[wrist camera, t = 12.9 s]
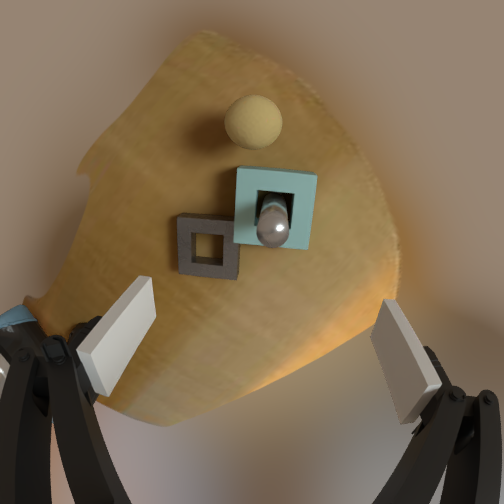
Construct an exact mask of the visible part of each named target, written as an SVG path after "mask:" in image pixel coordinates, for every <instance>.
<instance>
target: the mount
mask: <svg viewBox="0 0 504 504" xmlns="http://www.w3.org/2000/svg"><path fill="white" fill-rule="evenodd" d="M234 221H235V217H234V216H221V215H208V214H194V213H182V214H180V215H179V216H178V217H177V240H178V265H179V274H185V275H194V276H202V277H211V278H220V279H229V280H237V277H238V274H239V259H240V243H233V242H234ZM196 233H204V234H216V235H224V247H223V259H219V258H209V257H199V256H196Z"/></svg>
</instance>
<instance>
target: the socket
mask: <svg viewBox="0 0 504 504" xmlns="http://www.w3.org/2000/svg"><path fill="white" fill-rule="evenodd" d="M316 184H317V175H316V174H315V173H314V172H308V171H299V170H290V169H280V168H269V167H256V166H242V165H241V166H240V167H238V168H237V183H236V201H235V221H234V242H233V243H242V244H252V245H263V244H261V243H260V241H259V240H258V238H257V235H256V230H257V225H258V221H259V218H256V215H257V202H258V190H264V191H275V192H285V193H293V194H292V203H291V212H290V221H288V225H289V237H288V239H287V241H286V242H285V243H284V244H283V245H282V246H280V247H284V248H294V249H304V250H308V244H309V237H310V230H311V223H312V216H313V208H314V200H315V192H316ZM263 246H264V245H263Z"/></svg>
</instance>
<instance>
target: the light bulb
mask: <svg viewBox="0 0 504 504" xmlns="http://www.w3.org/2000/svg"><path fill="white" fill-rule="evenodd" d="M224 125H225V130H226V132H227V134H228V136H229V137H230V139H231V140H232V141H233V142H234V143H236V144H237V145H239V146H240V147H243V148H246V149H251V150H256V149H261V148H264V147H266V146H268V145H270V144H271V143H272V142H274V141H275V140H276V138H277V137H278V135H279V134H280V131H281V128H282V117H281V113H280V111H279V109H278V108H277V106H276V105H275V104H274V103H273V102H272V101H270V100H269V99H267V98H265V97H263V96H259V95H247V96H244V97H241V98H239V99H238V100H236V101H235V102H234V103H233V104H232V105H231V106H230V107H229V109H228V110H227V113H226V115H225V119H224Z"/></svg>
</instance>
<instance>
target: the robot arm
mask: <svg viewBox="0 0 504 504" xmlns="http://www.w3.org/2000/svg"><path fill="white" fill-rule="evenodd" d="M155 318H156V311H155V304H154V296H153V288H152V279H151V277H147V276H140V275H139V277H138V278H137V279H136V280H135V281H134V282H133V283H132V284H131V285H130V286H129V288H128V289H127V290H126V291H125V292H124V293H123V294H122V295H121V297H120V298H119V299H118V300H117V301H116V302H115V303H114V305H113V306H112V307H111V308H110V309H109V310H108V312H107V313H106V314H105V315H104V316H103V317H101V316H96V317H95V318H93V319H91V320H90V321H89V322H88V323H80V324H78V325H77V326H76V327H75V328H74V329H73V330H72V331H71V333H70V335H69V339H68V341H67V343H66V340H65V338H64V337H62V336H59V335H52V336H49V337H48V336H47V335H46V334H45V332H44V331H43V329H42V328H41V326H40V325H39V324H38V322H37V319H35V318H34V317H33V315H32V314H31V312H30V311H29V310H28V308H27V307H26V306H24V305H18V306H15V307H13V308H12V309H10V310H8V311H7V312H5V313H3V314H2V315H0V504H52V498H51V482H50V443H51V427H52V423H53V424H54V428H55V434H56V439H57V444H58V448H59V452H60V456H61V460H62V464H63V468H64V471H65V474H66V478H67V481H68V484H69V487H70V490H71V493H72V496H73V499H74V502H75V504H132V503H131V501H130V500H129V498H128V496H127V494H126V492H125V490H124V487H123V485H122V483H121V481H120V479H119V477H118V474H117V472H116V470H115V467H114V465H113V462H112V460H111V458H110V455H109V452H108V450H107V447H106V444H105V442H104V439H103V436H102V433H101V430H100V427H99V424H98V421H97V418H96V415H95V411H94V407H93V404H94V403H95V401H96V399H97V397H98V396H99V394H101V395H104V396H107V397H109V395H110V394H111V392H112V390H113V388H114V387H115V385H116V383H117V381H118V380H119V378H120V376H121V374H122V373H123V371H124V369H125V367H126V366H127V364H128V362H129V361H130V359H131V357H132V356H133V354H134V352H135V351H136V349H137V347H138V346H139V344H140V342H141V341H142V339H143V337H144V336H145V334H146V332H147V331H148V329H149V328H150V326H151V324H152V323H153V321H154V319H155ZM370 338H371V340H372V343H373V346H374V348H375V351H376V353H377V356H378V359H379V361H380V364H381V367H382V370H383V373H384V375H385V378H386V381H387V384H388V387H389V390H390V393H391V396H392V399H393V402H394V405H395V408H396V412H397V415H398V418H399V421H400V424H407V423H413V422H414V421H415V420H416V419H417V418H418V416H419V415H420V416H421V419H422V421H421V422H420V424H419V425H418V426H417V427H416V428H415V430H414V431H413V432H412V434H413V433H414V436H413V437H412V439H411V442H410V443H409V445H408V447H407V449H406V451H405V453H404V455H403V456H402V458H401V460H400V462H399V463H398V465H397V467H396V468H395V470H394V472H393V473H392V475H391V477H390V478H389V480H388V481H387V483H386V485H385V486H384V487H383V489H382V490H381V492H380V493H379V495H378V496H377V498H376V499H375V501H374V502H373V503H372V504H429V503H430V501H431V499H432V496H433V495H434V493H435V491H436V489H437V486H438V484H439V482H440V480H441V478H442V475H443V473H444V471H445V468H446V465H447V469H446V475H445V481H444V486H443V491H442V495H441V500H440V504H499V497H500V487H501V471H502V439H501V423H500V412H499V403H498V399H497V396H496V395H495V394H494V393H493V392H492V391H490V390H483V391H481V392H480V394H479V395H478V396H477V397H472V396H466V393H465V392H464V391H463V390H462V389H461V388H459V387H457V386H452V385H451V383H450V381H449V379H448V377H447V375H446V373H445V371H444V369H443V367H441V364H440V362H439V361H438V359H437V357H436V355H435V353H434V352H433V351H432V350H431V349H430V348H429V347H428V346H422V344H421V343H420V341H419V339H418V337H417V336H416V334H415V332H414V330H413V329H412V327H411V325H410V324H409V322H408V320H407V319H406V317H405V315H404V314H403V312H402V310H401V309H400V307H399V306H398V304H397V302H396V301H395V300H391V299H383V302H382V305H381V308H380V311H379V314H378V317H377V320H376V323H375V325H374V328H373V331H372V333H371V336H370Z"/></svg>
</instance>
